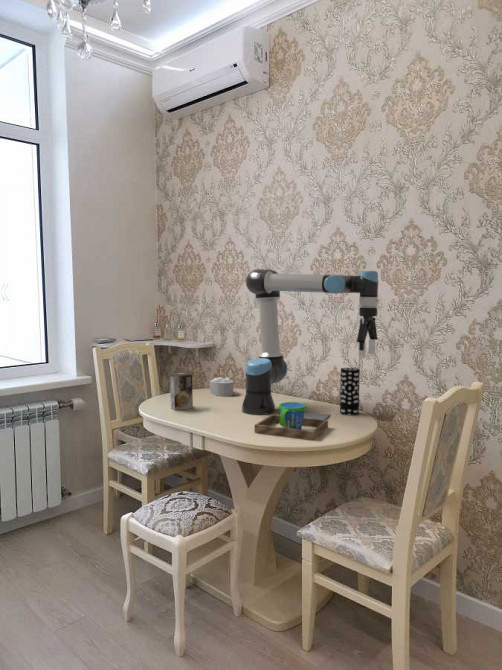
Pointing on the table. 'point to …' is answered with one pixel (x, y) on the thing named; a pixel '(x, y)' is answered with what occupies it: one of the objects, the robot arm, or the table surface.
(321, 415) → the slate mat
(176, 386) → the coffee box
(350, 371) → the spotted tube
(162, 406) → the table surface
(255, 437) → the table surface
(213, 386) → the lumpy-topped squat cylinder
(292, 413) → the snack cup
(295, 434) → the wooden frame
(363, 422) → the table surface
